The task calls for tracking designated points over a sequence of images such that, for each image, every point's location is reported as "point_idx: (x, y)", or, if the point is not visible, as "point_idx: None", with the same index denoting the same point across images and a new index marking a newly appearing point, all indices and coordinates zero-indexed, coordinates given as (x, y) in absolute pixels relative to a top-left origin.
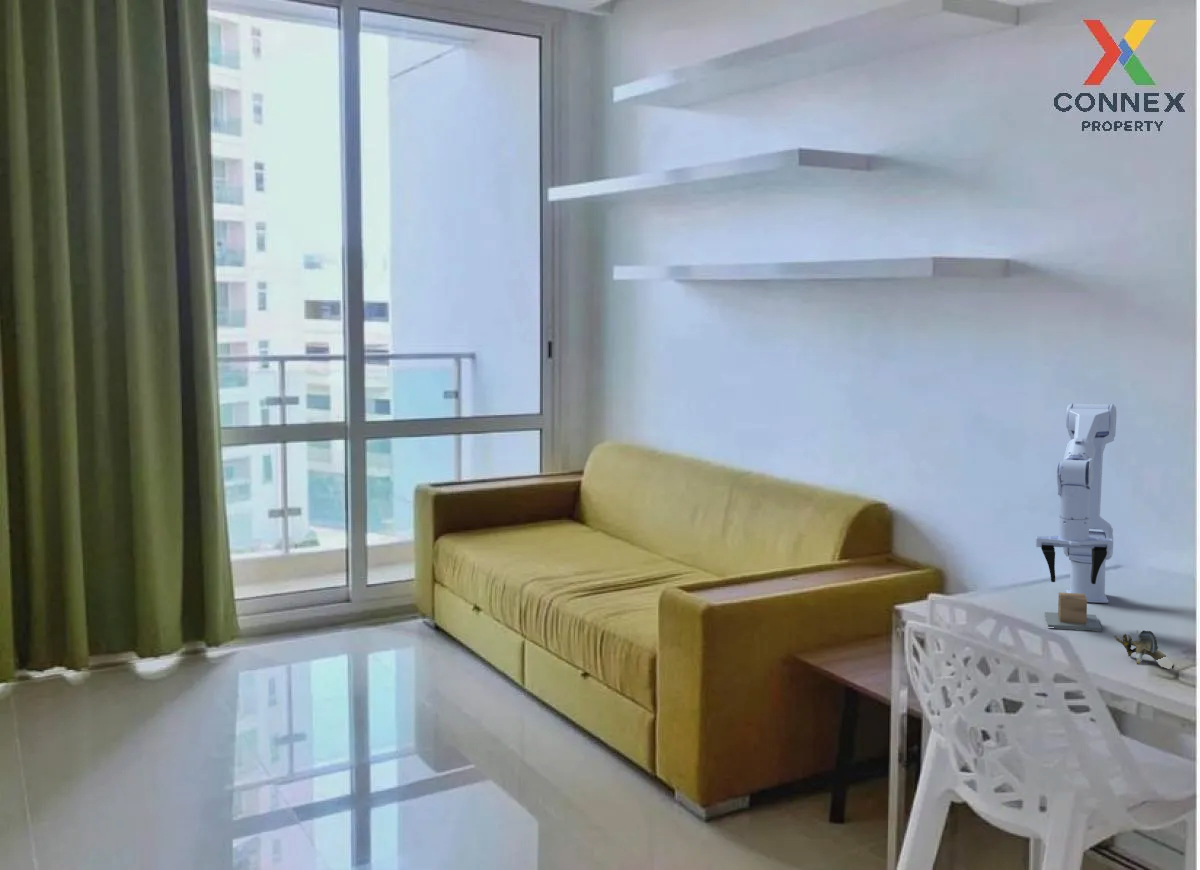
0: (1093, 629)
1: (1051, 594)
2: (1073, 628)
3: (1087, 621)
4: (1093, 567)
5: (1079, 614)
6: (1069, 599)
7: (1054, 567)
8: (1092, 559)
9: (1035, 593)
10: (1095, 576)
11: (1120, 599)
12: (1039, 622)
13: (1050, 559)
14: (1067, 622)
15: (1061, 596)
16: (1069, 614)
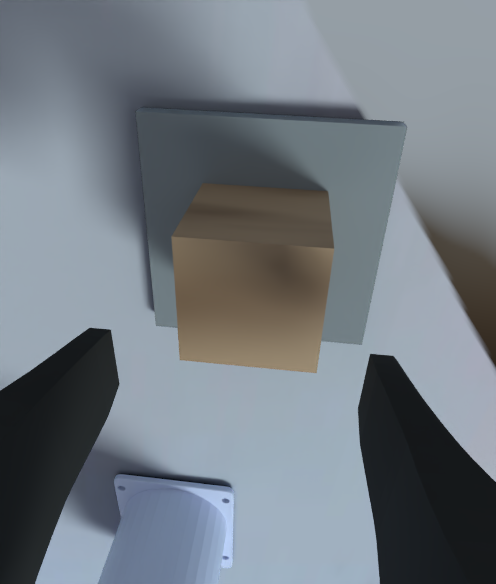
0: (176, 111)
1: (278, 544)
2: (273, 117)
3: None
4: (35, 415)
5: (229, 200)
6: (278, 241)
7: (406, 437)
8: (28, 532)
9: (325, 551)
10: (58, 355)
11: (84, 508)
12: (414, 231)
13: (485, 514)
14: (293, 185)
15: (318, 293)
16: (281, 202)
